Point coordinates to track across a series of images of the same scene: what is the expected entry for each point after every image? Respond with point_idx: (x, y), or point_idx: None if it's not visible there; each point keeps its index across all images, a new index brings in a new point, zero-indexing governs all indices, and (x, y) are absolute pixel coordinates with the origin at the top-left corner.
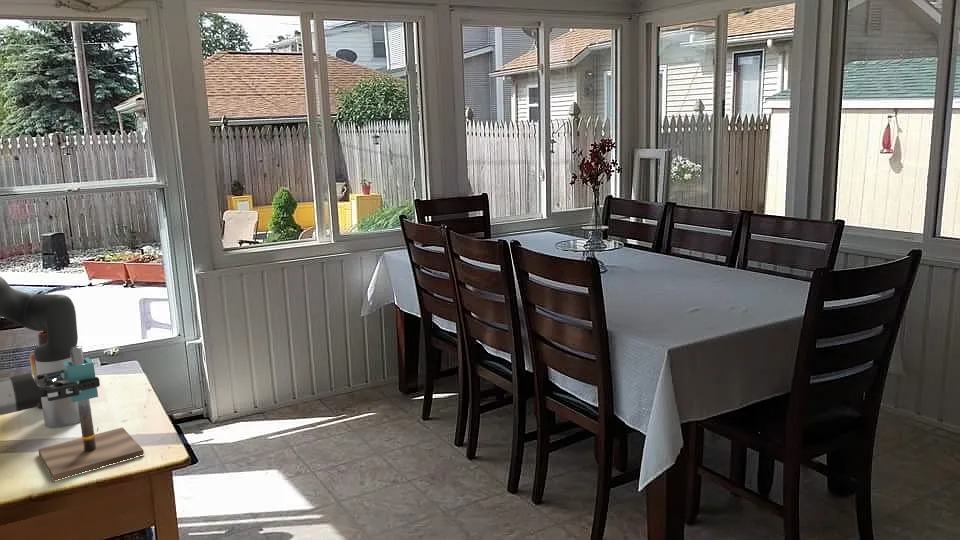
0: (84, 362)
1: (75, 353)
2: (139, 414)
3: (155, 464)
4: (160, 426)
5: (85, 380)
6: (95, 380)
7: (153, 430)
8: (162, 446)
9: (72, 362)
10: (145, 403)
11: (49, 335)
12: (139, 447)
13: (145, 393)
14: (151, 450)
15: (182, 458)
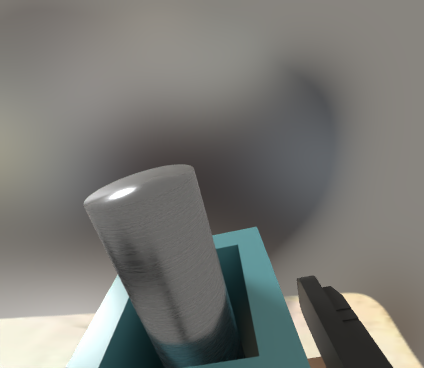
0: None
1: (203, 219)
2: None
3: (401, 347)
4: None
5: (350, 334)
6: (334, 291)
7: None
8: (295, 322)
9: (192, 322)
10: (72, 324)
11: None
12: (320, 360)
13: (34, 319)
14: (309, 344)
15: (372, 299)
